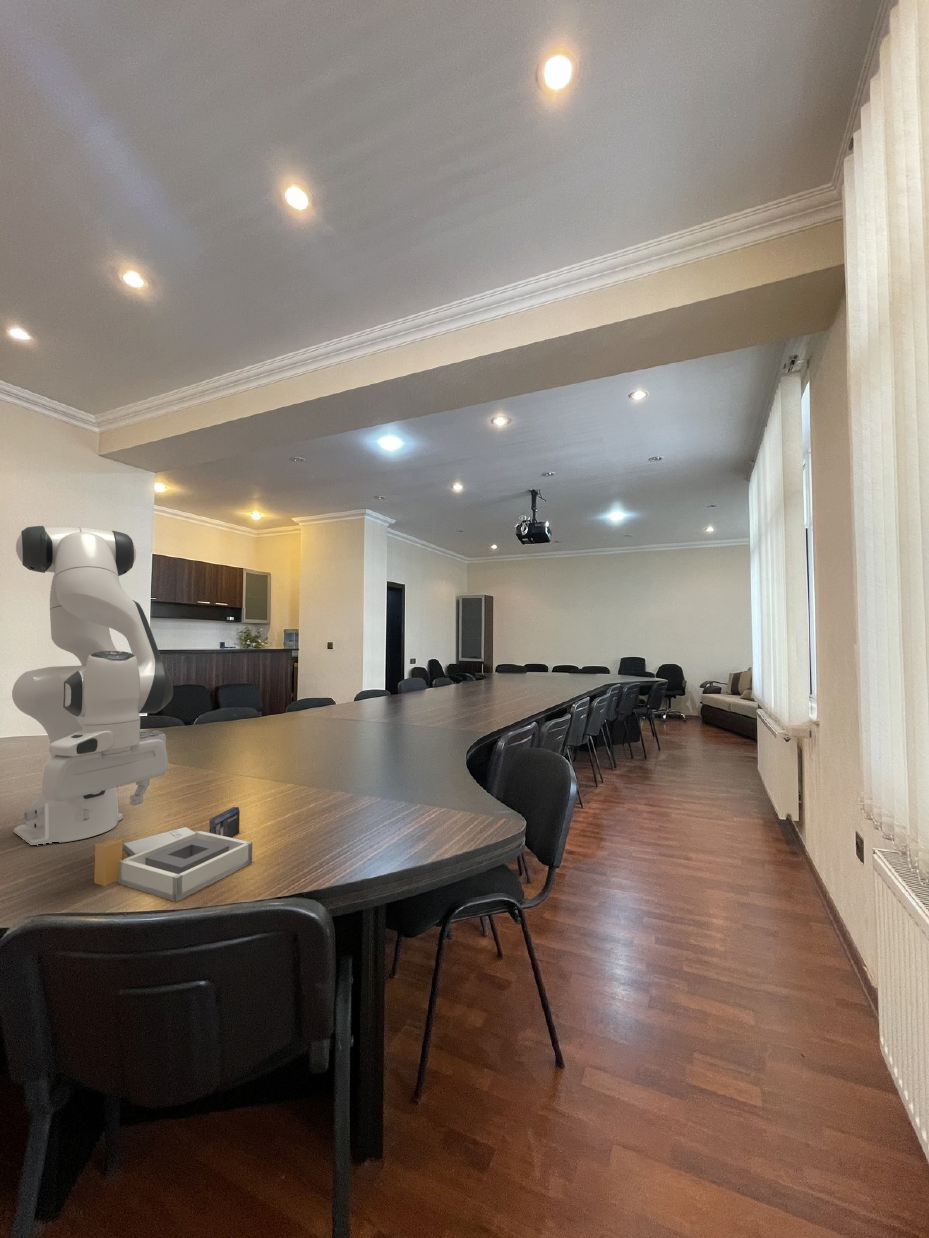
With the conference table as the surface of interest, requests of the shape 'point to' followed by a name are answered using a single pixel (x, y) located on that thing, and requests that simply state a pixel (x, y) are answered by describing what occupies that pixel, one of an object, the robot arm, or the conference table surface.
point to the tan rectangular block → (107, 861)
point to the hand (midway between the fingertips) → (110, 811)
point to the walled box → (184, 864)
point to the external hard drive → (154, 841)
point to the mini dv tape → (225, 823)
